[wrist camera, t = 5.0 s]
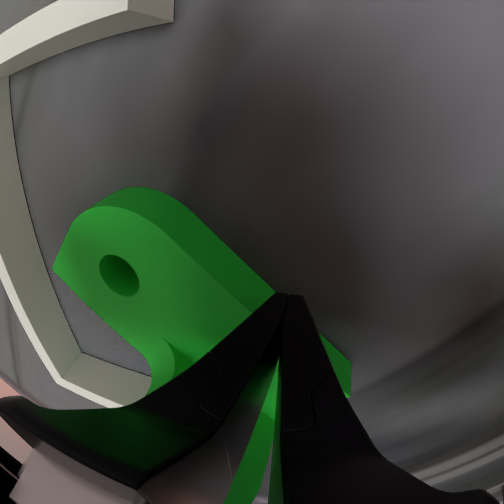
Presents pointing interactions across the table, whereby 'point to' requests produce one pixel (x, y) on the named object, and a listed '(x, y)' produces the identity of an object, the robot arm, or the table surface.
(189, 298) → the mechanical part
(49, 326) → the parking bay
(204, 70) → the table surface
